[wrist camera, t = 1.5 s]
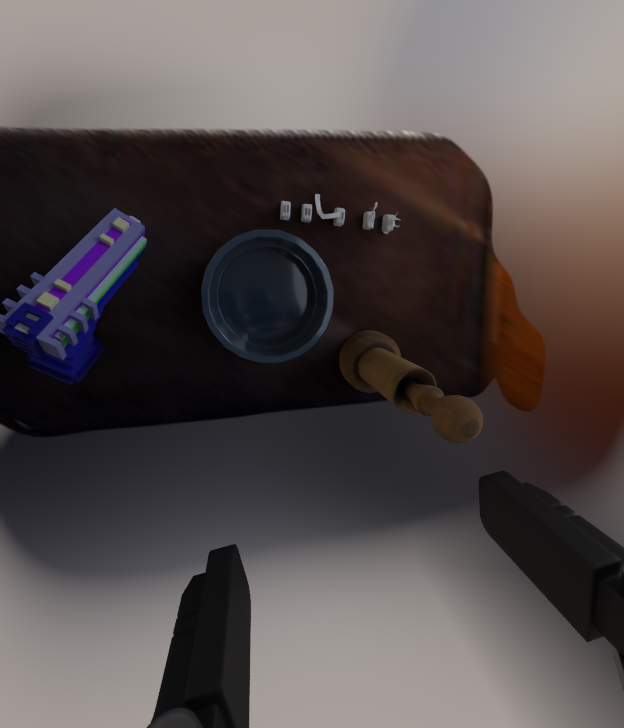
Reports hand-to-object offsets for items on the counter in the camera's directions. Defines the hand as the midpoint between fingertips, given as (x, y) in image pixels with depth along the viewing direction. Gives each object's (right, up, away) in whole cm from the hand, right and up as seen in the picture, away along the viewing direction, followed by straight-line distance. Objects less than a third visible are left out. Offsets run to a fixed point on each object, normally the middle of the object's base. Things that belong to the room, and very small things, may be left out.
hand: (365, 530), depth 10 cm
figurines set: (+1, +20, +22) cm, 30 cm away
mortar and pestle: (+4, +6, +27) cm, 28 cm away
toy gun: (-21, +12, +20) cm, 31 cm away
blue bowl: (-6, +12, +23) cm, 26 cm away
